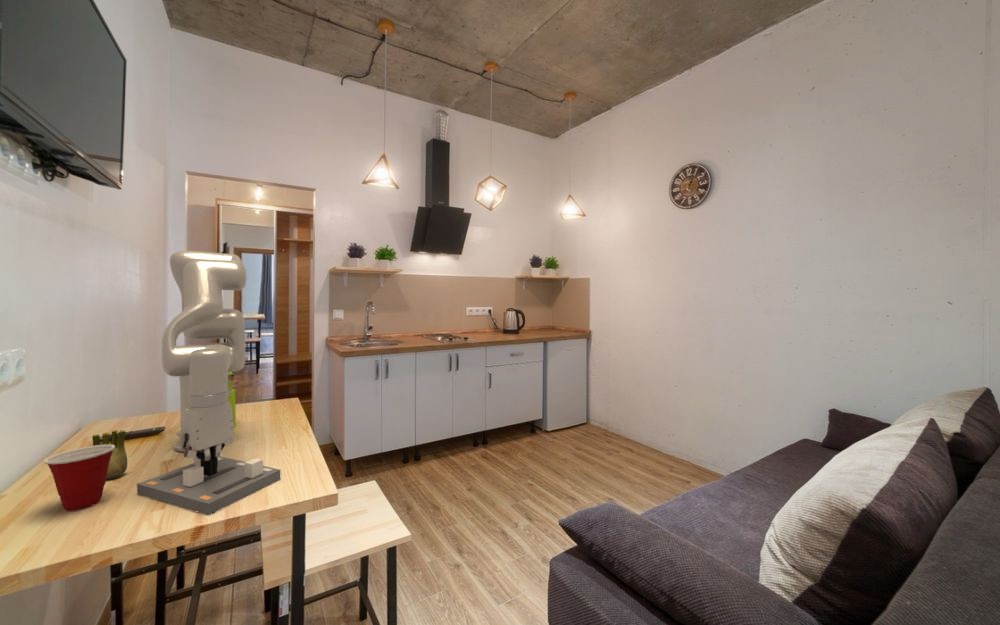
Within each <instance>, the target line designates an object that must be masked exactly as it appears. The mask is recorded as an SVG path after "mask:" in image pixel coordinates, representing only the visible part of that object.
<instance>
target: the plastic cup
mask: <svg viewBox="0 0 1000 625" xmlns="http://www.w3.org/2000/svg"><path fill="white" fill-rule="evenodd" d="M114 448H115V446H114V445H111V444H109V445H102V444H101V445H96V446H93V445H92V446H85V447H79V448H75V449H70V450H66V451H62V452H60V453H57V454H54V455H51V456H48V457H47V458H45V459H44V460H43V461H44V463H45V464H46V465H47V466H48V468H49V469H50V472H51V474H52V478H53V480H54V483H55V487H56V492H57V494H58V496H59V499H60V502H61V506H62V508H63V510H64V511H68V512H72V511H80V510H84V509H86V508H90V507H93V506H95V505H96V504H98V503H100V501H101V500H102V498H103V493H104V489H105V485H106V481H107V480H106V477H107V471H108V466H109V461H110V458H111V455H112V452H113V449H114Z"/></svg>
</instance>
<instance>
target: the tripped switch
mask: <svg viewBox="0 0 1000 625" xmlns="http://www.w3.org/2000/svg"><path fill="white" fill-rule="evenodd" d="M203 481H204V472H203V467H201V466H197V465H196V466H194V467H191V468H188V469H186V470H183V485H184V486H188V487H191V486H194V485H196V484H199V483H201V482H203Z"/></svg>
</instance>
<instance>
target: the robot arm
mask: <svg viewBox="0 0 1000 625" xmlns="http://www.w3.org/2000/svg"><path fill="white" fill-rule="evenodd" d="M169 266H170V271H171V274H172V277H173V279H174V281H175V284H177V287H178V290H179V291H180V296H181V297H180V298H181V312H180V313H179V314H177V315H176V316H175V317H174V318H173V319H172V320H171V321H170V322H169V324H168V325H167V326H166V328H165V330H164V331H163V334H162V340H161V341H162V342H161V364H162V370H163V372H164V373H165V374H166V375H168V376H170V377H178V378H179V395H180V396H179V398H180V399H179V401H180V430H179V431H176V433H175V435H176V436H179V441H177V442H176V443H174V444H173V450H174V451H175V452H180V453H183V457H184V458H188V459H189V458H194V457H197V458H198V459H200V460H201V467H203V472H204V475H207V476H212V475H213V474H216V473H217V467H218V457H219V456H220V457H221V452H222V450H223V449H224V448H225V447H226V446H228V445H230V444H232V442H233V437H234V428H235V427H234V424H233V414H232V409H231V405H230V402H228V396H230V395H231V391H230V390H229V391H228V379H229V375H228V372H232V373H234V372H239V371H241V370H243V368H245V364H246V330H245V329H246V328H245V327H246V326H245V318H244V316H243V315H244V314H243V313H242V312H241V311H240V310H238V309H234V308H224V303H223V302H224V301H223V291H241V290H243V289H244V288H245V286H246V284H247V273H246V271H247V270H246V268H245V265H244V263H243V261H242V260H241V258H240V256H239V255H236V254H235V253H223V252H222V253H221V252H211V251H200V250H198V251H197V250H180V251H176V252H174V253H172V254H171V256H170V258H169ZM181 334H183V335H184V337H185V338H187V339H190V340H216V339H218V340H219V339H220V340H221V339H225V340H227V341H228V342H210V343H192V344H188V345H177V340H178V337H179V335H181Z"/></svg>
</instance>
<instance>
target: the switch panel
mask: <svg viewBox="0 0 1000 625" xmlns="http://www.w3.org/2000/svg"><path fill="white" fill-rule="evenodd" d="M245 462H246V461H242V460H239V459H234V458H229V457H224V456H221V455H220V456H219V457H218V467H217V473H216V474H213V475H212V476H207V475H204V481H203V482H201V483H199V484H196V485H194V486H191V487H188V486H184V485H183V470H186V469H188V468H191V467H194V466H196V465H194V462H193V463H190V464H188V465H184V466H182V467H179V468H177V469H174V470H171V471H168V472H166V473H163V474H160V475H157V476H155V477H153V478H150V479H146V480H144V481H141V482H138V483H137V484H136V494H137V495H139V496H141V495H142V497H145V496H146V497H145V498H148V497H149V499H153V500H156V501H159V502H162V503H166V504H170V505H172V506H176V507H179V508H183V509H187V510H190V511H194V512H196V511H198V512H197V513H200V512H201V513H200V514H203V513H204V514H203V515H206V514H207V516H210V515H211V513H212V514H214V513H216V512H218V511H219V509H220V510H221V508H222V509H223V507H224V508H225V506H226V507H228V506H229V504H230V505H232V504H234V503H236V502H238V501H240V500H242V499H244V498H245V497H247V496H251V495H252V494H254V493H256V492H257V491H260V490H262V489H263V488H264V489H265V487H267V486H269V485H271V484H274V483H276V482H278V481H279V480H281V469H280V468H274V467H269V466H265V465H263V474H260V475H258V476H256V477H254V478H248V477H245ZM233 502H234V503H233ZM231 503H232V504H231ZM227 505H228V506H227ZM217 510H218V511H217ZM215 511H216V512H215ZM213 512H214V513H213ZM209 514H210V515H209Z"/></svg>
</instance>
